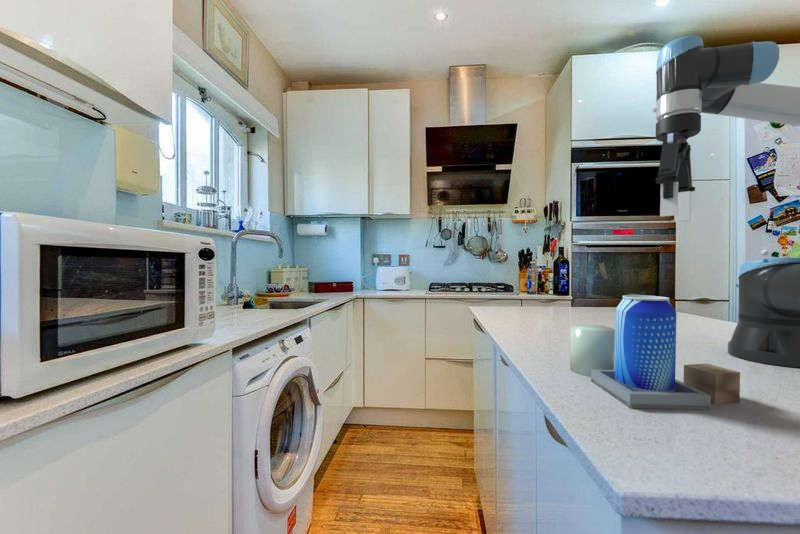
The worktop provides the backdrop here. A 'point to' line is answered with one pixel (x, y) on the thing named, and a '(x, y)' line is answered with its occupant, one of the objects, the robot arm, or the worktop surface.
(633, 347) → the beer can
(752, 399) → the worktop surface
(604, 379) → the slate tray
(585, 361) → the pale green cylinder
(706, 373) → the walnut block
